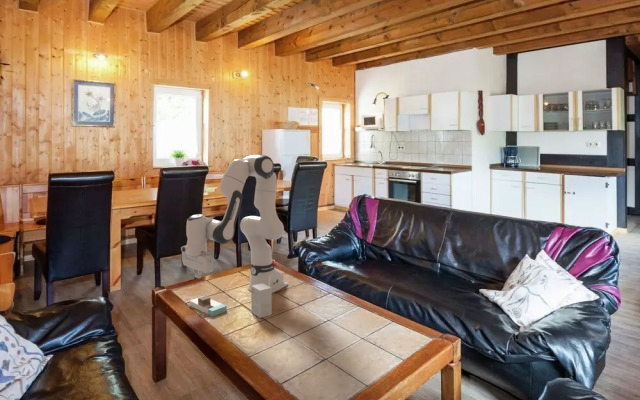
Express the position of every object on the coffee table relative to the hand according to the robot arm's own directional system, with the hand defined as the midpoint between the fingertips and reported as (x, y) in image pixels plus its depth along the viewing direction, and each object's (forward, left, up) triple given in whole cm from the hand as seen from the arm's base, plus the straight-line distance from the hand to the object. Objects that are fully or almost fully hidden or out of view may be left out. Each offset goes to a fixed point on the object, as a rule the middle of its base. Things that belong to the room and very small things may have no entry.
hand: (198, 277), depth 194 cm
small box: (-15, +28, -14) cm, 35 cm away
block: (0, +5, -12) cm, 13 cm away
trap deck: (-2, +5, -14) cm, 15 cm away
